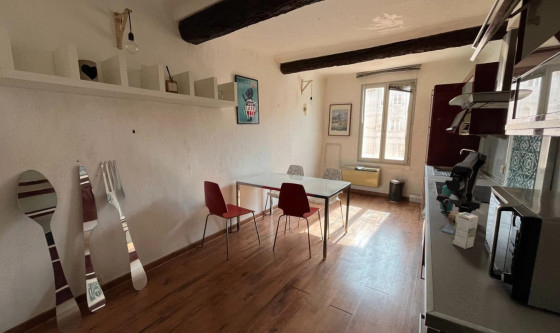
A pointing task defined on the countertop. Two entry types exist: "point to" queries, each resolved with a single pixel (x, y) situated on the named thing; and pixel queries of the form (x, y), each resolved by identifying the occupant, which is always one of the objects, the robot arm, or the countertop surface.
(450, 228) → the board
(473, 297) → the countertop surface
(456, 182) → the robot arm
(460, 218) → the syrup box
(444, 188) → the beverage bottle
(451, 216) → the block with dowel legs
